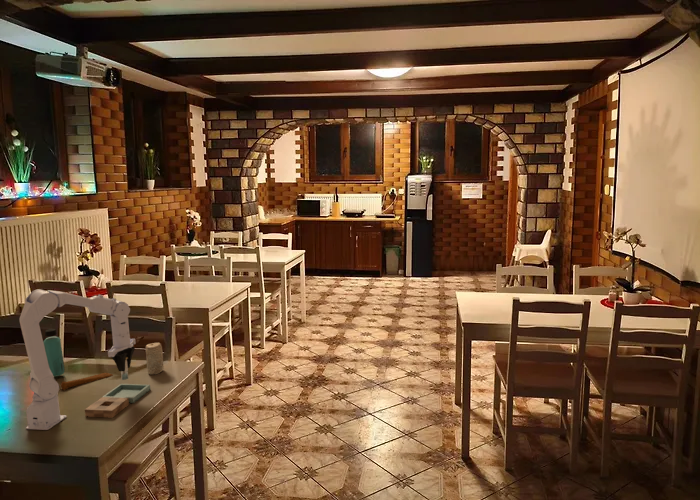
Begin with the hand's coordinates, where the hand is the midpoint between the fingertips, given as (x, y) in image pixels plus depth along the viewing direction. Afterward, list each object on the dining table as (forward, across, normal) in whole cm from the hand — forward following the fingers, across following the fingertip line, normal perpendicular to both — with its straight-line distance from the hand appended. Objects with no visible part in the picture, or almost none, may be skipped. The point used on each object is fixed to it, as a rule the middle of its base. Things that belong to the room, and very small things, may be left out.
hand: (124, 369), depth 196 cm
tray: (+10, 0, 0) cm, 10 cm away
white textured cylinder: (+10, +23, +1) cm, 25 cm away
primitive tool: (+11, +12, +24) cm, 29 cm away
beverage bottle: (+10, +15, +40) cm, 44 cm away
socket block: (+10, -12, 0) cm, 16 cm away
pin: (+3, 0, 0) cm, 4 cm away
